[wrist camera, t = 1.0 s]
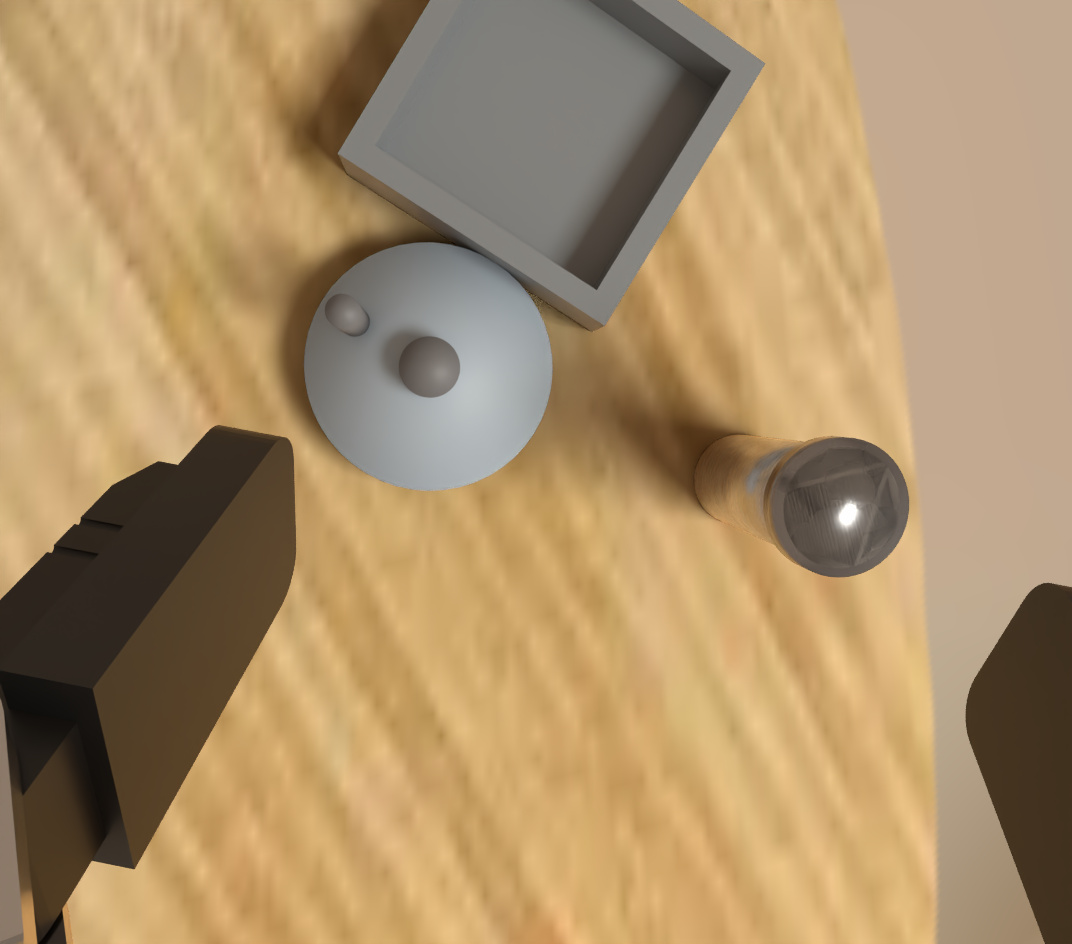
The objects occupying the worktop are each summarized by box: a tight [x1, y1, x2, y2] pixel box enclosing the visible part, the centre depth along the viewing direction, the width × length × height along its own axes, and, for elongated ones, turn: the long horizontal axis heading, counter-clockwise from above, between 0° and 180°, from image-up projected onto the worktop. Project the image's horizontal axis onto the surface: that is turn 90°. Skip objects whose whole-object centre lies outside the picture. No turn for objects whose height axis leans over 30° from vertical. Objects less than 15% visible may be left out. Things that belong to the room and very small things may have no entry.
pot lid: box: [304, 242, 553, 491], centre depth 33 cm, size 10×10×6 cm
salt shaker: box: [694, 434, 909, 577], centre depth 32 cm, size 5×5×10 cm
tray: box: [338, 0, 765, 332], centre depth 34 cm, size 12×12×3 cm
